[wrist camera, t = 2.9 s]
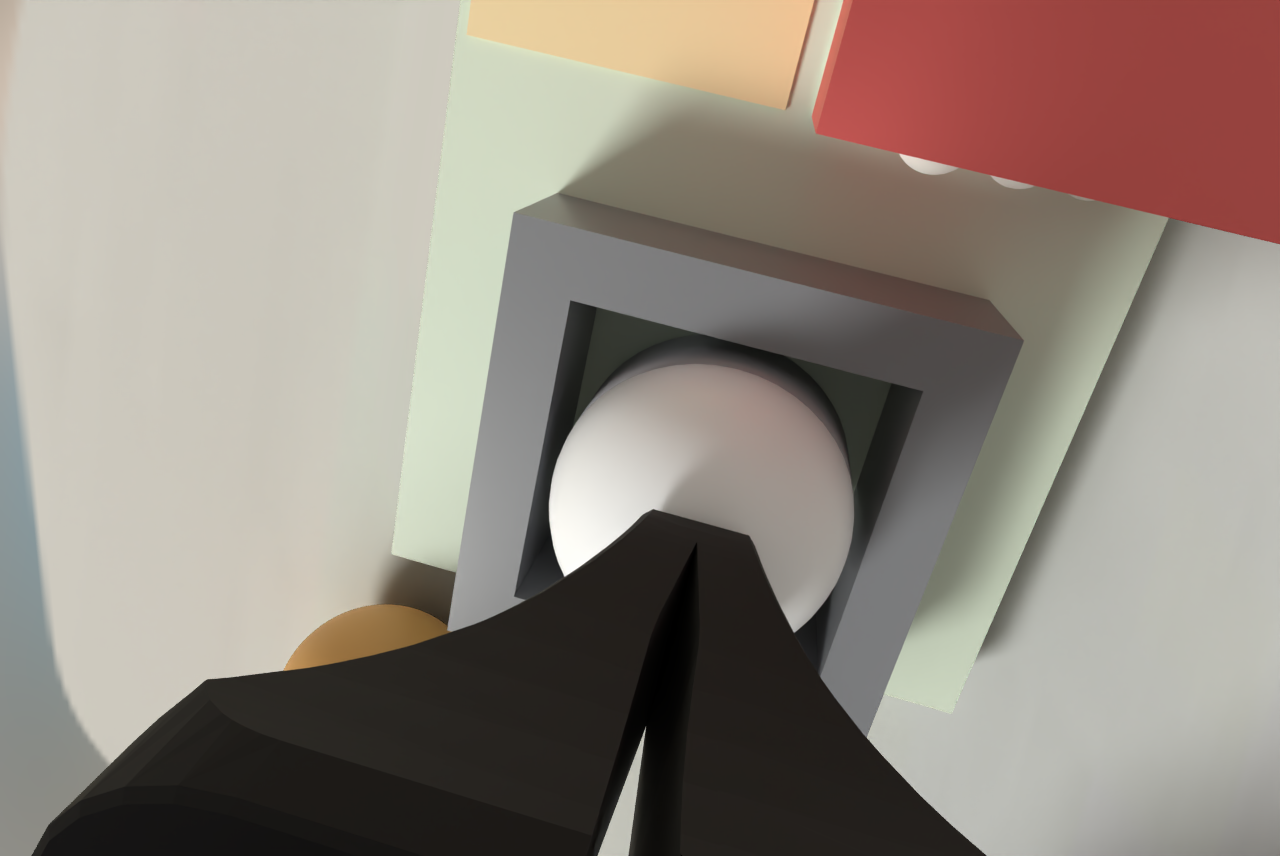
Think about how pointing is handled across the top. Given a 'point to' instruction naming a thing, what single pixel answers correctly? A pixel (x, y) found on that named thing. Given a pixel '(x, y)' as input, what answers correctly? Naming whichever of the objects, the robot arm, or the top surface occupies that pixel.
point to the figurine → (365, 635)
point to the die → (1073, 98)
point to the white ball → (712, 462)
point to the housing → (760, 318)
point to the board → (761, 212)
